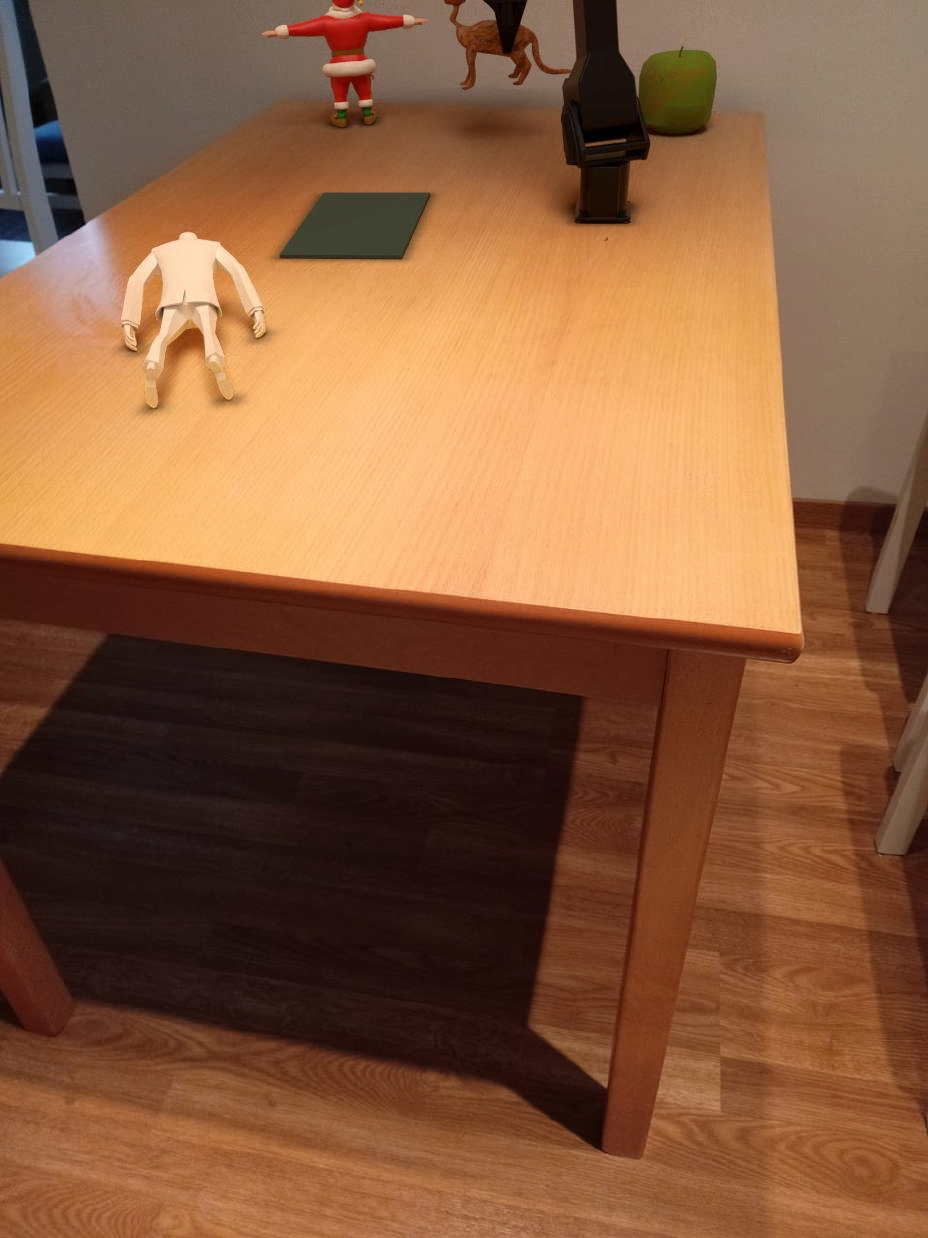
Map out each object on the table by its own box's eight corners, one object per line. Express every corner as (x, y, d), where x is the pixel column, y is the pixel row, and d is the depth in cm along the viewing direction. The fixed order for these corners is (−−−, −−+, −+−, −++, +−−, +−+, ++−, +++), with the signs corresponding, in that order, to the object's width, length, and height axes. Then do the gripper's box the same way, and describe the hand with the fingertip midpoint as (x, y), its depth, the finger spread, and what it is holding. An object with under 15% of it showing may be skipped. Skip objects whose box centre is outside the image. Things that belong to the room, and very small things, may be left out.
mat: (402, 258, 109) (401, 255, 109) (279, 257, 111) (279, 254, 110) (430, 195, 126) (430, 192, 125) (323, 195, 127) (323, 192, 127)
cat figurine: (568, 76, 141) (571, -37, 133) (575, 85, 136) (579, -33, 128) (443, 83, 141) (438, -31, 132) (446, 92, 136) (441, -26, 127)
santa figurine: (429, 111, 158) (422, -27, 146) (436, 120, 154) (429, -21, 141) (273, 127, 154) (253, -14, 142) (277, 136, 150) (255, -8, 138)
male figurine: (274, 413, 87) (263, 269, 103) (263, 353, 82) (253, 212, 98) (117, 431, 85) (131, 282, 101) (96, 371, 81) (114, 224, 97)
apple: (689, 115, 150) (698, 34, 143) (725, 132, 143) (735, 47, 136) (623, 124, 148) (628, 42, 141) (655, 142, 140) (662, 56, 133)
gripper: (452, -95, 134) (457, 37, 144) (436, -80, 120) (443, 64, 130) (534, -98, 133) (533, 35, 143) (528, -84, 118) (527, 62, 128)
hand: (508, 48), depth 136 cm, fingers closed on cat figurine, 6 cm apart
